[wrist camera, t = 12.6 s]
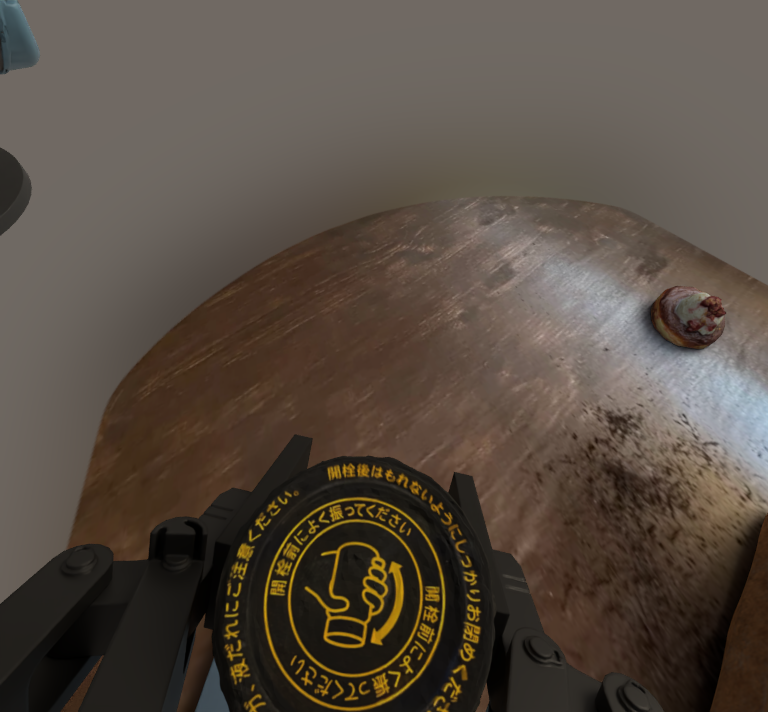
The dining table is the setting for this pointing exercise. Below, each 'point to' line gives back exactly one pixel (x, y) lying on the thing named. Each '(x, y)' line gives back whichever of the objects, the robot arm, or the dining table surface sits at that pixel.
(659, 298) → the pastry
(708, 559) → the dining table surface
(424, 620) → the condiment
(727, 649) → the bread
